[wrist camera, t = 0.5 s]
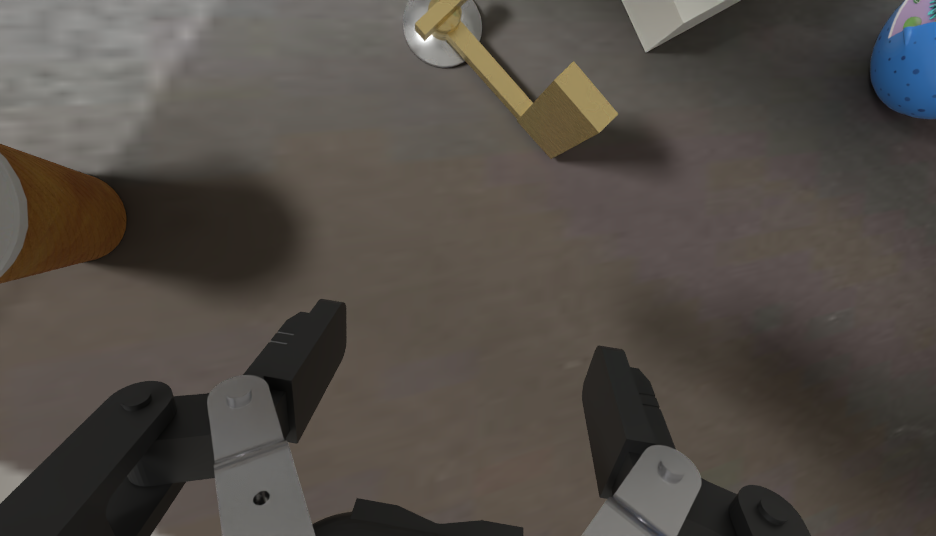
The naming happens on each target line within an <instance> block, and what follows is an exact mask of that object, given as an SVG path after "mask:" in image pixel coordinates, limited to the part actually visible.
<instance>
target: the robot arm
mask: <svg viewBox="0 0 936 536" xmlns="http://www.w3.org/2000/svg"><path fill="white" fill-rule="evenodd" d="M345 348H346V305H345V303H343V302H337V301H331V300H325V299H320V300H319V301H318V302H317V304H316V305H315V306H314V308H313V309H312V310H311V312H310V313H306V312H300V313H298V314H296V315H295V316H293V317H291V318H290V319H288V320H286V322H285V323H284V324H283V325H282V327H281V328H280V329H279V330H278V333H276V334H275V336H274V337H273V338H272V339H271V342H270V343H268V344H267V346H266V347H265V348H264V349H263V351H262V352H261V353H260V354H259V356H258V357H257V358H256V359H255V361H254V362H253V363H252V364H251V366H250V367H249V368H248V369H247V371H246V372H245V373H244V374H243V375H241V376H236V377H232V378H229V379H227V380H225V381H223V382H221V383H220V384H218V385H217V386H216V387H215V388H214V389H213V390H212V391H211V392H210V393H207V394H198V395H185V396H173V393H172V390H171V388H170V387H169V386H168V385H167V384H165V383H162V382H158V381H145V382H139V383H135V384H132V385H129V386H127V387H125V388H122V389H121V390H119V391H117V392H116V393H114V394H113V395H111V396H110V397H109V398H108V399H107V400H106V401H105V402H104V403H103V404H102V405H101V406H100V407H99V408H98V409H97V410H96V411H95V412H94V413H93V414H92V415H91V416H90V417H89V418H87V419H86V420H85V421H84V422H83V423H82V424H81V425H80V426H79V427H78V428H77V429H76V430H75V431H74V432H73V433H72V434H71V435H70V436H69V437H68V438H67V439H66V440H65V441H64V442H63V443H62V444H61V445H60V446H59V447H58V448H57V449H56V450H55V451H54V452H53V453H52V454H51V455H50V456H49V457H48V458H47V459H46V460H45V461H44V462H43V463H41V464H40V465H39V466H38V467H37V468H36V469H35V470H34V471H33V472H32V473H31V474H30V475H29V476H28V477H27V478H26V479H25V480H24V481H23V482H22V483H21V484H20V485H19V486H18V487H17V488H16V489H15V490H14V491H13V492H12V493H11V494H10V495H9V496H8V497H7V498H6V499H5V500H4V501H3V502H2V503H1V504H0V536H150V535H151V534H152V532H153V531H154V529H155V528H156V526H157V525H158V523H159V522H160V520H161V519H162V517H163V516H164V514H165V513H166V511H167V510H168V508H169V507H170V505H171V504H172V502H173V501H174V499H175V498H176V496H177V495H178V493H179V492H180V490H181V489H182V487H183V486H184V484H185V483H186V481H194V480H202V479H209V478H215V482H216V490H217V498H218V505H219V513H220V521H221V529H222V536H523V527H517V526H511V525H506V524H500V523H494V522H489V521H483V520H481V521H469V522H458V523H447V524H437V523H434V522H432V521H430V520H428V519H425V518H423V517H421V516H419V515H417V514H415V513H413V512H410V511H408V510H406V509H404V508H402V507H400V506H398V505H392V504H386V503H381V502H375V501H369V500H364V499H358V498H357V499H356V502H355V505H354V508H353V511H352V512H347V513H342V514H337V515H333V516H330V517H327V518H325V519H322V520H320V521H318V522H316V523H314V524H312V522H311V519H310V516H309V512H308V509H307V505H306V502H305V499H304V495H303V492H302V488H301V485H300V482H299V478H298V475H297V472H296V468H295V465H294V461H293V458H292V455H291V451H290V448H289V445H288V442H291V443H298V442H299V440H300V438H301V436H302V434H303V432H304V430H305V428H306V427H307V425H308V423H309V421H310V419H311V417H312V415H313V413H314V411H315V410H316V408H317V406H318V404H319V402H320V400H321V398H322V396H323V395H324V393H325V391H326V389H327V387H328V385H329V383H330V381H331V380H332V378H333V376H334V374H335V372H336V370H337V368H338V366H339V365H340V363H341V361H342V359H343V356H344V353H345ZM582 401H583V407H584V413H585V419H586V424H587V430H588V435H589V441H590V446H591V452H592V457H593V463H594V469H595V474H596V480H597V485H598V491H599V496H600V498H606V499H607V500H606V502H605V503H604V505H603V506H602V507H601V509H600V510H599V512H598V513H597V515H596V516H595V517H594V519H593V520H592V522H591V523H590V524H589V526H588V527H587V529H586V530H585V532H584V533H583V534H582V536H811V535H810V533H809V531H808V529H807V527H806V525H805V523H804V521H803V520H802V518H801V516H800V515H799V514H798V512H797V511H796V510H795V509H794V508H793V506H792V505H791V504H790V503H788V502H787V501H786V500H785V499H784V498H782V497H781V496H780V495H778V494H776V493H775V492H773V491H771V490H769V489H767V488H764V487H761V486H756V485H748V486H745V487H743V488H742V489H741V490H740V491H739V493H738V494H735V493H733V492H730V491H728V490H726V489H724V488H721V487H719V486H717V485H714V484H712V483H710V482H708V481H706V480H704V479H702V478H701V476H700V474H699V471H698V470H697V468H696V467H695V465H694V464H693V463H692V462H691V461H690V459H688V458H687V457H686V456H685V455H683V454H682V453H681V452H679V451H677V450H676V449H675V446H674V443H673V441H672V438H671V435H670V433H669V430H668V428H667V425H666V422H665V420H664V417H663V415H662V412H661V409H659V404H658V402H657V399H656V398H655V394H654V391H653V389H652V386H651V383H650V381H649V380H648V379H647V378H646V377H645V376H644V374H643V373H642V372H641V371H640V370H639V369H638V368H632V367H630V366H629V363H628V360H627V357H626V354H625V352H624V350H622V349H617V348H611V347H604V346H598V347H597V348H596V350H595V352H594V355H593V358H592V361H591V364H590V366H589V369H588V372H587V375H586V378H585V381H584V384H583V391H582Z"/></svg>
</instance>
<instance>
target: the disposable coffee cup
mask: <svg viewBox="0 0 936 536" xmlns="http://www.w3.org/2000/svg"><path fill="white" fill-rule="evenodd" d="M126 220H127V219H126V211H125V208H124V205H123V202H122V201H121V199H120V197H119V196H118V194H117V193H116V192H115V191H114V189H113V188H111V187H110V186H109V185H108V184H107V183H105V182H103V181H102V180H100V179H98V178H96V177H93V176H90V175H87V174H84V173H81V172H78V171H75V170H73V169H70V168H67V167H64V166H61V165H58V164H56V163H53V162H50V161H47V160H44V159H42V158H39V157H36V156H33V155H30V154H28V153H25V152H22V151H19V150H16V149H13V148H11V147H8V146H5V145H2V144H0V283H4V282H8V281H11V280H16V279H20V278H24V277H28V276H31V275H36V274H40V273H43V272H47V271H51V270H55V269H59V268H63V267H67V266H71V265H74V264H78V263H83V262H86V261H90V260H95V259H98V258H100V257H103V256H105V255H107V254H108V253H110V252H111V251H112V250H113V249H114V248H115V247H116V246H117V245H118V244H119V243H120V241H121V239H122V238H123V235H124V232H125V230H126Z"/></svg>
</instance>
